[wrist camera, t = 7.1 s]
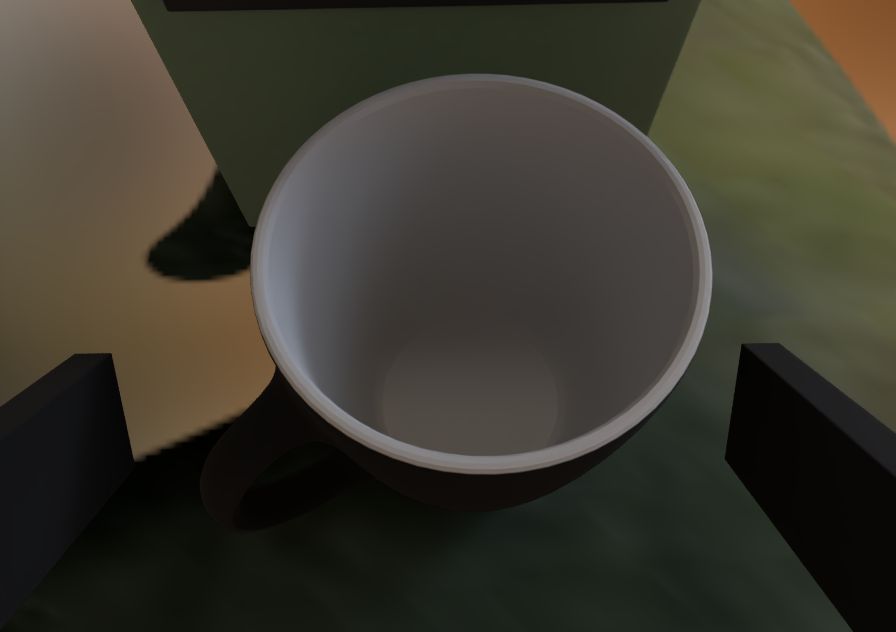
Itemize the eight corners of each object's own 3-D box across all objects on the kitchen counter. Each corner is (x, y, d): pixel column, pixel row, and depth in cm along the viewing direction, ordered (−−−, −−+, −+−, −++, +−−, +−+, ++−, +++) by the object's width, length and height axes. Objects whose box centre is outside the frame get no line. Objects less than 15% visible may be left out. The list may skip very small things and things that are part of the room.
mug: (493, 242, 24) (516, 12, 15) (660, 430, 21) (820, 285, 12) (206, 425, 21) (18, 279, 12) (351, 676, 18) (245, 736, 9)
